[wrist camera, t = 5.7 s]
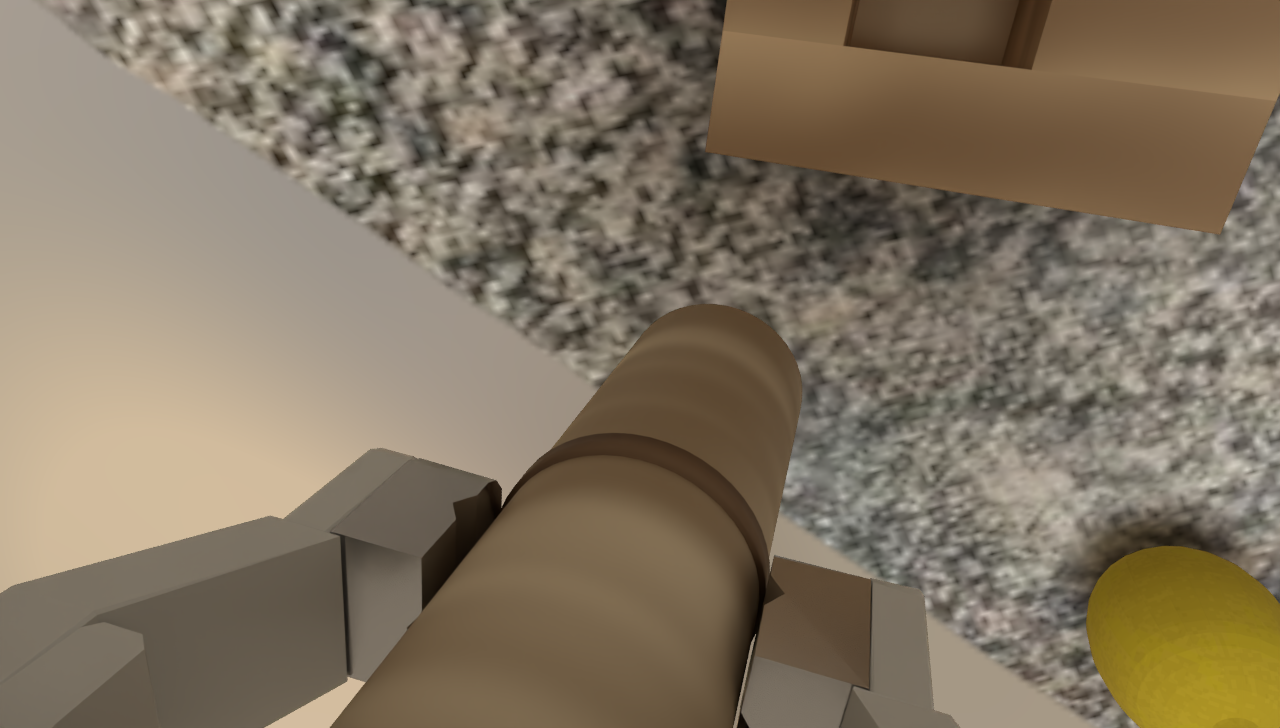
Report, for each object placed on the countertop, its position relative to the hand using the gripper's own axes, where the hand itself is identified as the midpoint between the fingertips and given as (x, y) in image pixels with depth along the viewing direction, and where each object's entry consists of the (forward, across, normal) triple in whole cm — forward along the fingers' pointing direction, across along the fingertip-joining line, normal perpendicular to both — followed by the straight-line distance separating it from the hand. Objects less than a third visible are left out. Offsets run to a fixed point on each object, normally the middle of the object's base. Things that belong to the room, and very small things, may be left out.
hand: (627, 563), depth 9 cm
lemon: (+21, -15, +11) cm, 27 cm away
